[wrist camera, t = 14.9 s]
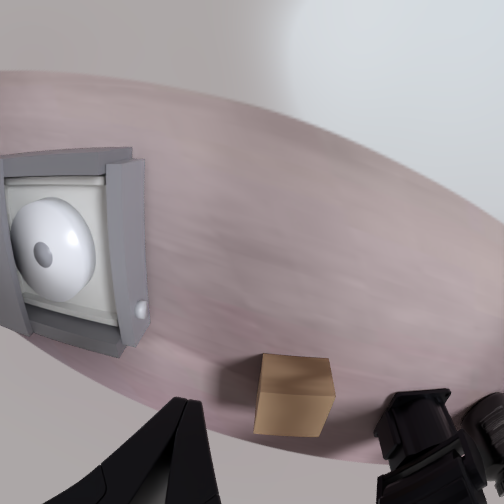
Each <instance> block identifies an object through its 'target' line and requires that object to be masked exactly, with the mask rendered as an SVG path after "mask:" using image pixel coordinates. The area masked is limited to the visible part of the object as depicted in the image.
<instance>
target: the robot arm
mask: <svg viewBox="0 0 504 504" xmlns="http://www.w3.org/2000/svg"><path fill="white" fill-rule="evenodd" d="M450 395H451V391H450V389H440V390H430V391H417V392H401V393H397V394H396V395H395V396H394V397H393V399H392V401H391V403H390V405H389V407H388V408H387V410H386V412H385V413H384V415H383V417H382V418H381V420H380V422H379V423H378V425H377V427H376V429H375V430H374V432H373V433H374V437H378V438H379V442H380V446H381V450H382V454H383V458H384V459H385V460H388V461H389V465H390V469H391V472H389V473H387V474H385V475H381V476H379V477H378V479H377V498H376V504H487V501H486V498H485V496H484V493H483V490H482V488H484V487H486V486H487V479H486V474H485V469H484V464H483V460H482V457H481V454H480V452H479V450H478V448H477V446H476V444H475V442H474V440H473V439H472V438H471V437H470V436H469V435H468V434H467V433H466V431H465V430H464V429H463V428H462V429H460V430H459V431H457V430H456V428H455V426H454V424H453V421H452V419H451V417H450V415H449V413H448V411H447V408H446V406H445V403H446V401H447V399H448V398H449V396H450ZM463 454H465V456H463V457H461V456H462V455H463ZM43 504H221V500H220V496H219V492H218V487H217V483H216V478H215V473H214V468H213V463H212V458H211V452H210V447H209V442H208V437H207V430H206V424H205V419H204V412H203V406H202V402H201V401H198V400H192V399H189V400H187V399H186V398H181V397H174V398H172V399H171V400H170V401H169V402H168V403H167V404H166V405H165V406H164V407H163V408H162V409H161V410H160V411H159V412H158V413H156V414H155V415H154V416H153V417H152V418H151V419H150V420H149V421H148V422H147V423H146V424H145V425H144V426H142V427H141V428H140V429H139V430H138V431H137V432H136V433H135V434H134V435H133V436H132V437H130V438H129V439H128V440H127V441H126V442H125V443H124V444H123V445H121V446H120V448H118V449H117V450H116V451H115V452H114V453H112V455H110V456H109V457H108V458H107V459H106V460H104V461H103V462H102V463H101V465H99V466H97V467H96V468H95V469H94V470H93V471H92V472H90V473H89V474H88V475H87V476H85V477H84V478H83V479H82V480H80V481H79V482H77V483H76V484H74V485H73V486H71V487H70V488H68V489H67V490H65V491H63V492H62V493H60V494H58V495H57V496H55V497H53V498H52V499H50V500H48V501H46V502H45V503H43Z"/></svg>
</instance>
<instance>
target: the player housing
mask: <svg viewBox="0 0 504 504" xmlns="http://www.w3.org/2000/svg"><path fill="white" fill-rule="evenodd" d="M126 159H132V147H104V148H79V149H62V150H49V151H37V152H27V153H18V154H9V155H1V156H0V325H1V326H3V327H6V328H8V329H10V330H13V331H15V332H18V333H20V334H23V335H26V336H28V337H30V336H31V335H32V333H36V334H39V335H42V336H44V337H47V338H50V339H53V340H56V341H60V342H63V343H66V344H69V345H72V346H76V347H79V348H83V349H86V350H90V351H93V352H97V353H100V354H104V355H108V356H112V357H116V358H119V357H120V356H121V354H122V353H123V351H124V349H125V348H126V346H127V345H123V344H122V340H121V334H120V328H119V326H118V327H117V326H112V325H108V324H103V323H99V322H95V321H91V320H87V319H82V318H78V317H75V316H71V315H67V314H63V313H59V312H56V311H52V310H48V309H45V308H41V307H38V306H35V305H31V304H28V303H25V302H24V300H23V296H22V292H21V288H20V284H19V280H18V275H17V271H16V266H15V261H14V256H13V251H12V245H11V239H10V233H9V226H8V218H7V210H6V200H5V188H4V177H19V176H54V175H101V174H105V173H106V164H109V163H113V162H117V161H122V160H126Z"/></svg>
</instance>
